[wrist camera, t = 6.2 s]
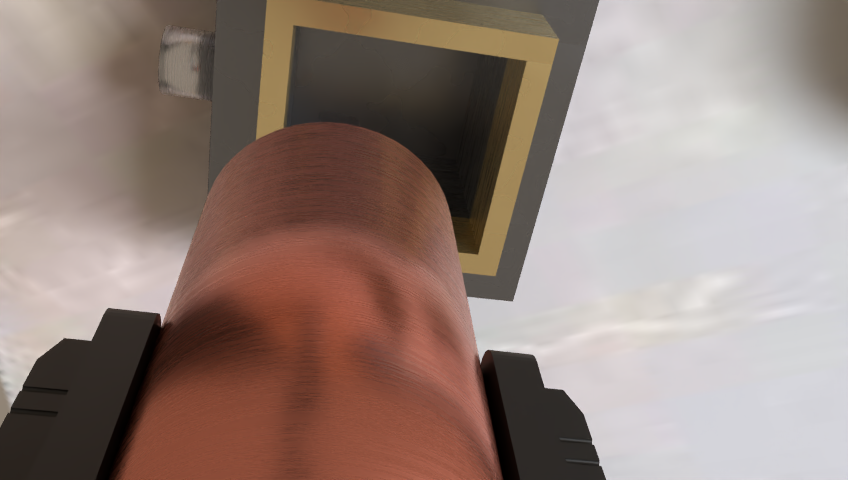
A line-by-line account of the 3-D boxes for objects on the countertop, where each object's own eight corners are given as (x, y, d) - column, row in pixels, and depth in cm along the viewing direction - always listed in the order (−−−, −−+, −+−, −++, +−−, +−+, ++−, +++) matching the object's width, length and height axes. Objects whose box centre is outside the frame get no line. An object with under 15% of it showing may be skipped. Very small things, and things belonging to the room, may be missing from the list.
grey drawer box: (188, -167, 28) (130, -135, 21) (573, -96, 30) (641, -45, 23) (179, 187, 35) (133, 302, 28) (491, 224, 37) (523, 340, 30)
